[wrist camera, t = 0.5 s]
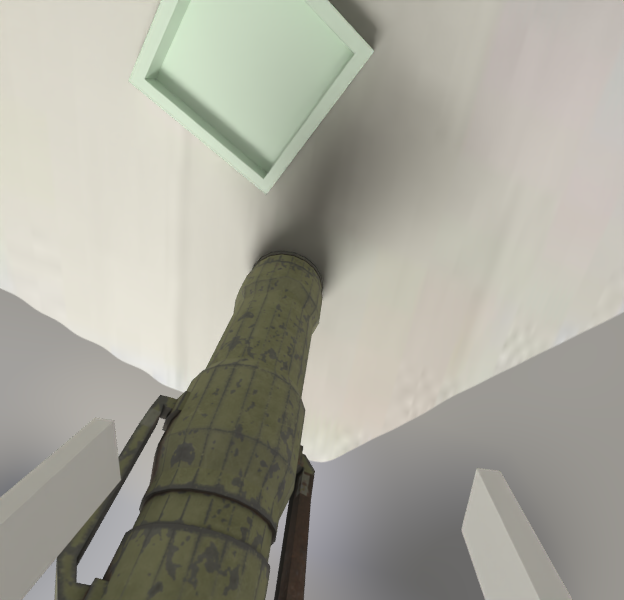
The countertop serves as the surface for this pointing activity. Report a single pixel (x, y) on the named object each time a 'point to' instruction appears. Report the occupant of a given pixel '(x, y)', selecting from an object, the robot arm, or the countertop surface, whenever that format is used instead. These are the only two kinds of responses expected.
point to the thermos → (222, 462)
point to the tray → (249, 75)
